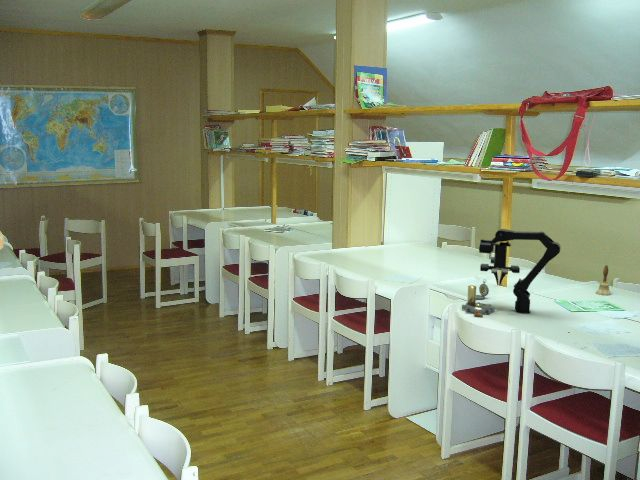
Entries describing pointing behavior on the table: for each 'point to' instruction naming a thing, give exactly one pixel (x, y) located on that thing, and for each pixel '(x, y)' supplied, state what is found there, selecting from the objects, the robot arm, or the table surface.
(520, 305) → the robot arm
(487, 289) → the pocket watch
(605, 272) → the hand bell
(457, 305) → the table surface
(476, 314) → the pointer
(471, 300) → the sprocket
